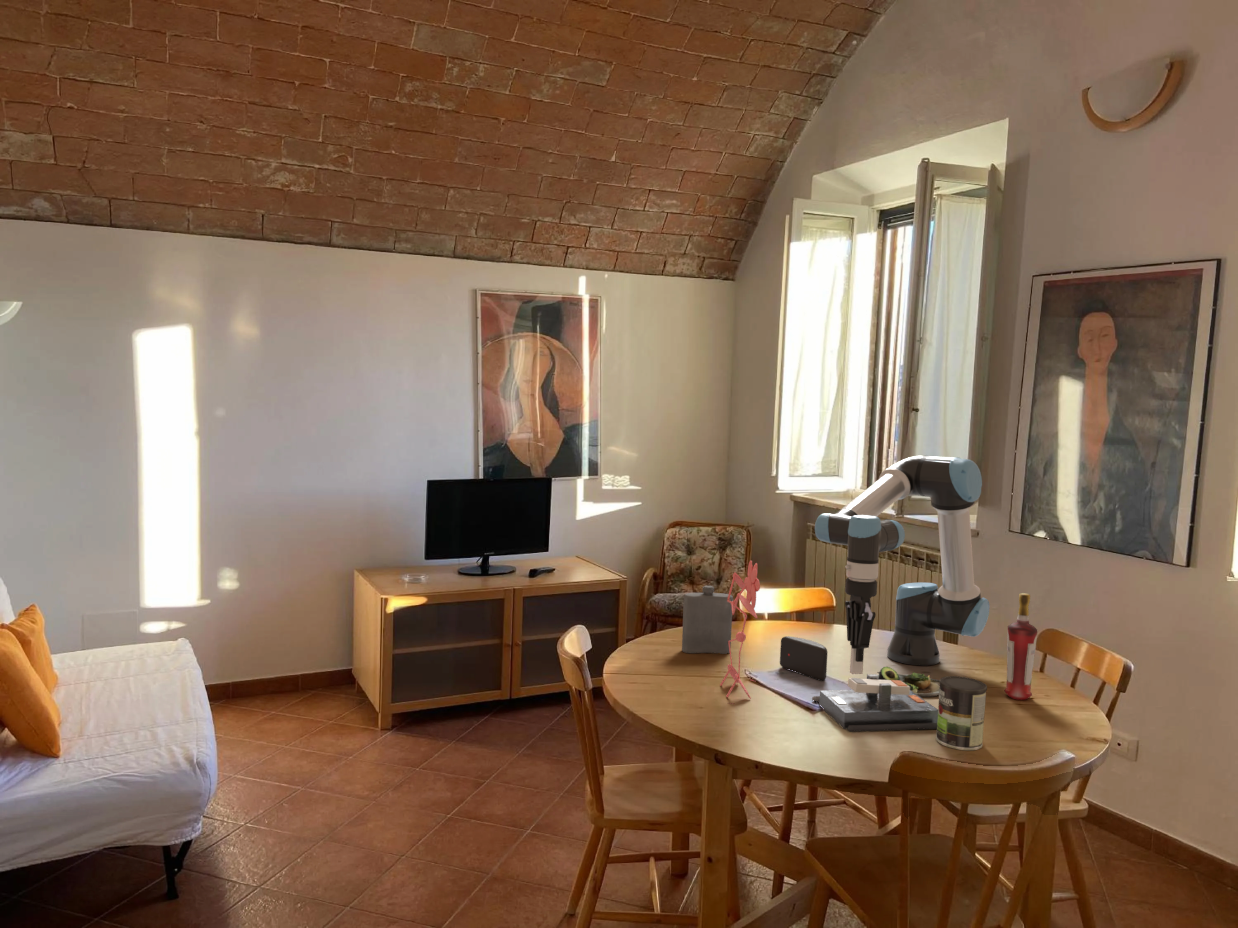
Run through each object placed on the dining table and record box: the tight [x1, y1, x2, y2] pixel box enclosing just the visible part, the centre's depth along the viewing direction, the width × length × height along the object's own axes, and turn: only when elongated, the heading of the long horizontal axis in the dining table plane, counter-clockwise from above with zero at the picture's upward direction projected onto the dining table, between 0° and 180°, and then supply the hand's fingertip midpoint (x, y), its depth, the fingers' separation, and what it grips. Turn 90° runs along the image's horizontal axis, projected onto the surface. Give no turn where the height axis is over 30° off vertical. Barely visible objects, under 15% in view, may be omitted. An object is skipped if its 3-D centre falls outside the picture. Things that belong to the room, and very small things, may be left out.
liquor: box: [1003, 592, 1039, 701], centre depth 247 cm, size 7×7×28 cm
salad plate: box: [876, 666, 940, 698], centre depth 253 cm, size 19×18×5 cm
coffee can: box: [935, 675, 988, 752], centre depth 213 cm, size 10×10×14 cm
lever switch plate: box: [818, 673, 938, 730], centre depth 229 cm, size 24×16×9 cm, turn 99°
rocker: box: [847, 677, 910, 695], centre depth 229 cm, size 14×5×2 cm, turn 99°
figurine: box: [719, 560, 761, 705], centre depth 244 cm, size 15×26×35 cm, turn 4°
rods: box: [811, 695, 937, 732], centre depth 230 cm, size 24×22×1 cm
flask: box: [681, 585, 734, 655], centre depth 282 cm, size 15×6×20 cm, turn 93°
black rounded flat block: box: [779, 635, 828, 681], centre depth 263 cm, size 16×5×9 cm, turn 39°
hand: (856, 672), depth 228 cm, fingers closed
